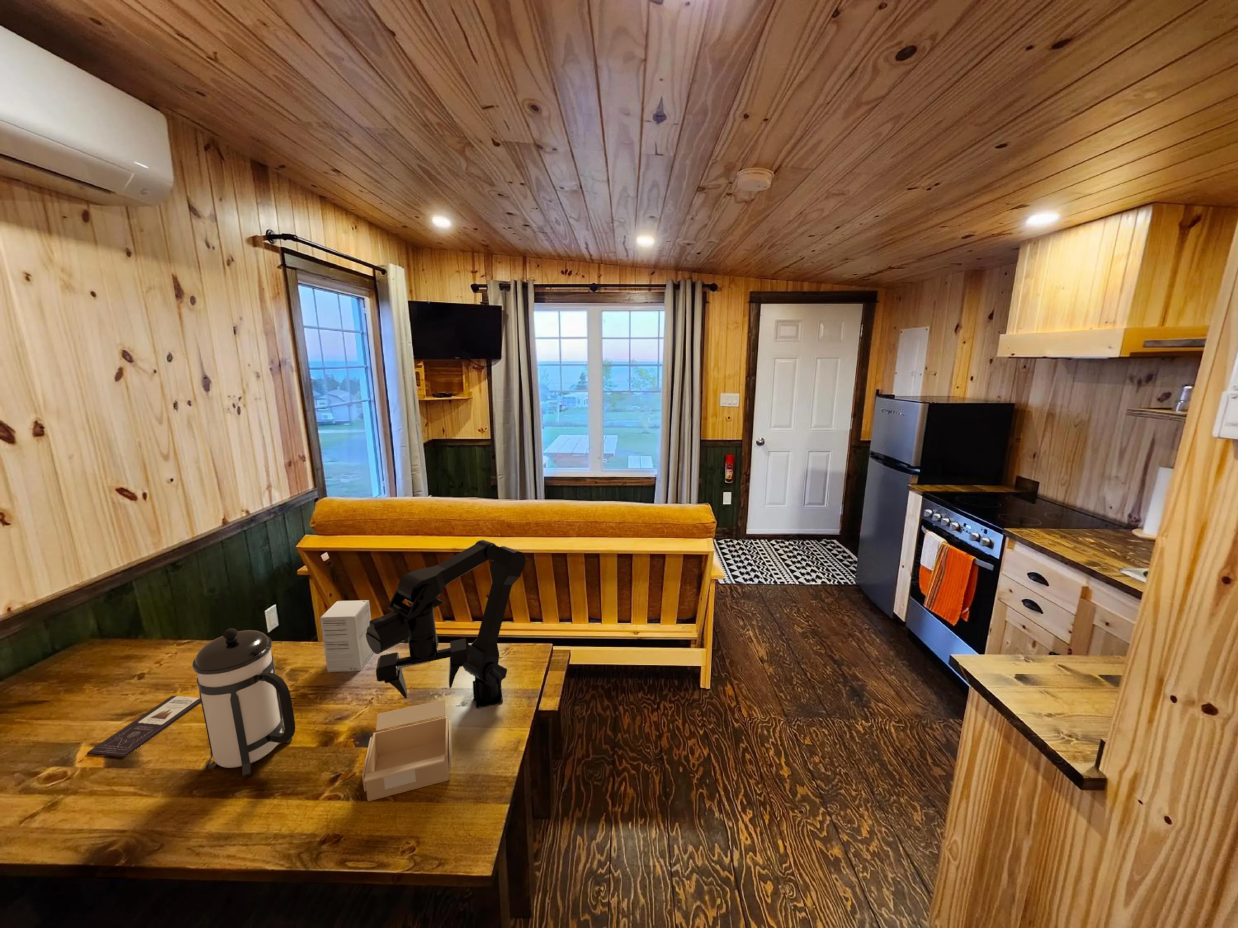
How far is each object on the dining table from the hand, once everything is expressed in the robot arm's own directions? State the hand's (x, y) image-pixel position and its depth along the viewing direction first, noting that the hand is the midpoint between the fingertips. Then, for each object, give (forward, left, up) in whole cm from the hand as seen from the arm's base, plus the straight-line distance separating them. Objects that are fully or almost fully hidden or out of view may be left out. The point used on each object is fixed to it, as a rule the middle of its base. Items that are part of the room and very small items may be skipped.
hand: (428, 691), depth 105 cm
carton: (+4, +8, -12) cm, 15 cm away
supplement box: (+23, -37, -12) cm, 45 cm away
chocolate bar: (+63, -25, -12) cm, 69 cm away
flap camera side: (+4, +15, -4) cm, 16 cm away
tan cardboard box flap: (+4, 0, -4) cm, 6 cm away
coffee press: (+36, -7, -12) cm, 38 cm away
